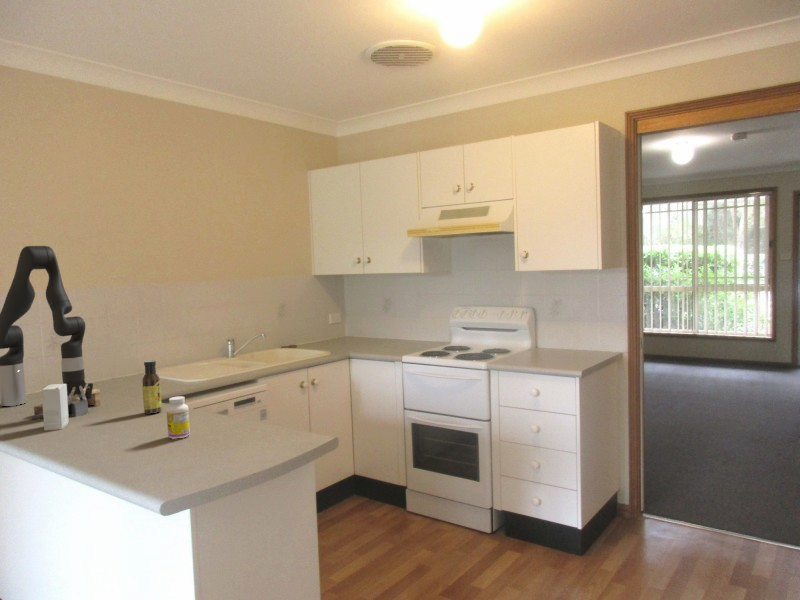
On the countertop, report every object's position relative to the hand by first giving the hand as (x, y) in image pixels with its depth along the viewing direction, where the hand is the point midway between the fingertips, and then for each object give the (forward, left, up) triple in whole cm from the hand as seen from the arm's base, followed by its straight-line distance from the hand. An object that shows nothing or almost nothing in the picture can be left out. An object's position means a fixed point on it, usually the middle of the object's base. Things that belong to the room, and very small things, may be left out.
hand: (76, 412), depth 227 cm
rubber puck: (-7, -10, -1) cm, 13 cm away
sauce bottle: (+27, +14, -1) cm, 31 cm away
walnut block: (-11, -7, -1) cm, 13 cm away
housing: (0, 0, -1) cm, 1 cm away
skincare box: (+12, -14, -1) cm, 19 cm away
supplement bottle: (+64, -3, -1) cm, 65 cm away
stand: (-10, +7, -1) cm, 12 cm away
